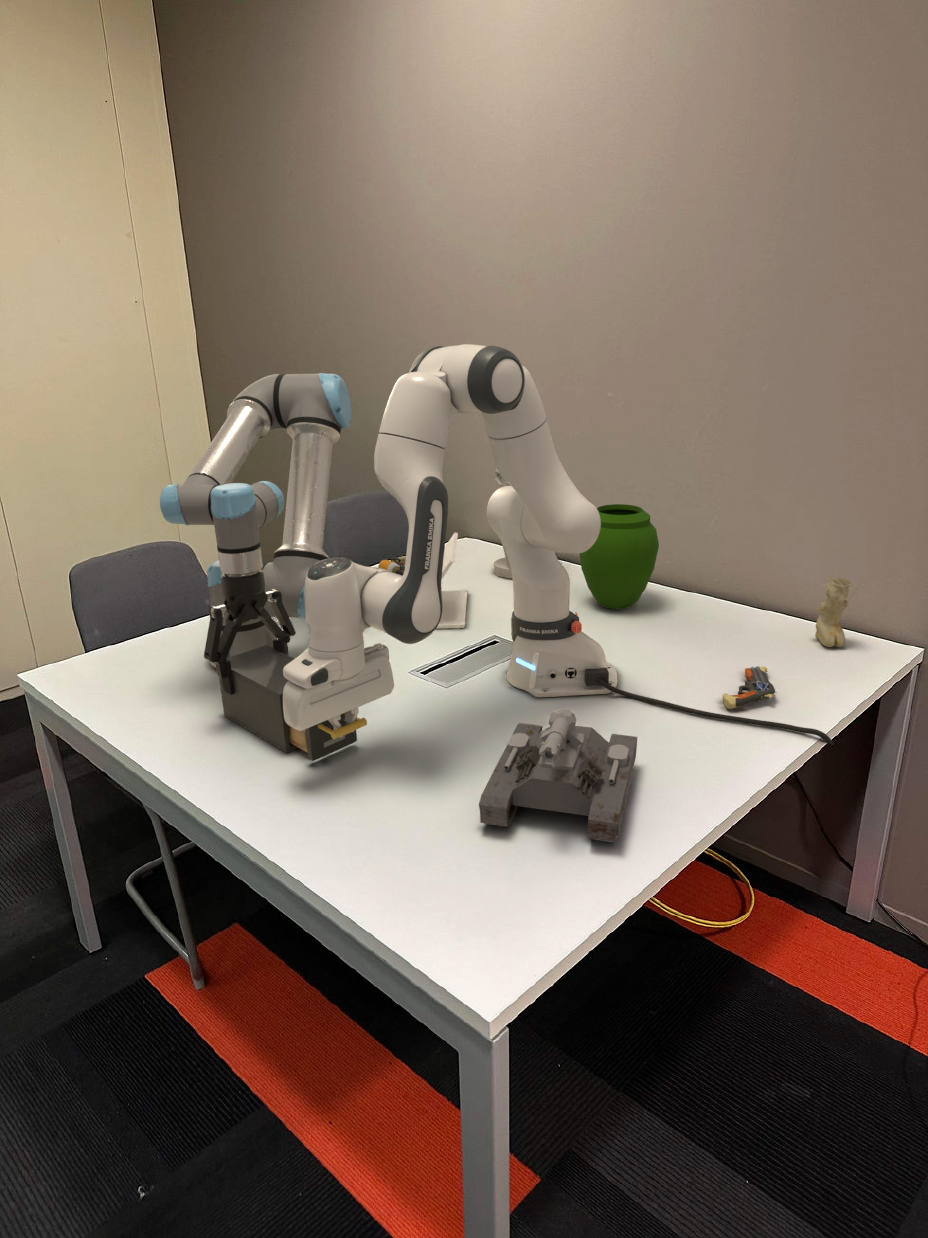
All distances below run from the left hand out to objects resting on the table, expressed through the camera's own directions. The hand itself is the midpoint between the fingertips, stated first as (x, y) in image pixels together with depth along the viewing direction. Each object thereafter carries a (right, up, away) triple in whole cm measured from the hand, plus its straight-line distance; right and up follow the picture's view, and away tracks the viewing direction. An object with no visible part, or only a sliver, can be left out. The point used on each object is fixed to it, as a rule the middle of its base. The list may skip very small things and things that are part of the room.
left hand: (256, 682), depth 161 cm
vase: (+77, +15, +53) cm, 95 cm away
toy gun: (+94, -2, +5) cm, 95 cm away
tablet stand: (+31, +14, +53) cm, 63 cm away
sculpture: (+119, +6, +26) cm, 122 cm away
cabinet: (+5, -8, -2) cm, 9 cm away
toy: (+55, -16, -28) cm, 63 cm away
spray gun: (+23, +25, +84) cm, 90 cm away
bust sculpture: (+56, +24, +78) cm, 99 cm away
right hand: (+19, -7, -18) cm, 27 cm away
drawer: (+12, -9, -9) cm, 18 cm away
